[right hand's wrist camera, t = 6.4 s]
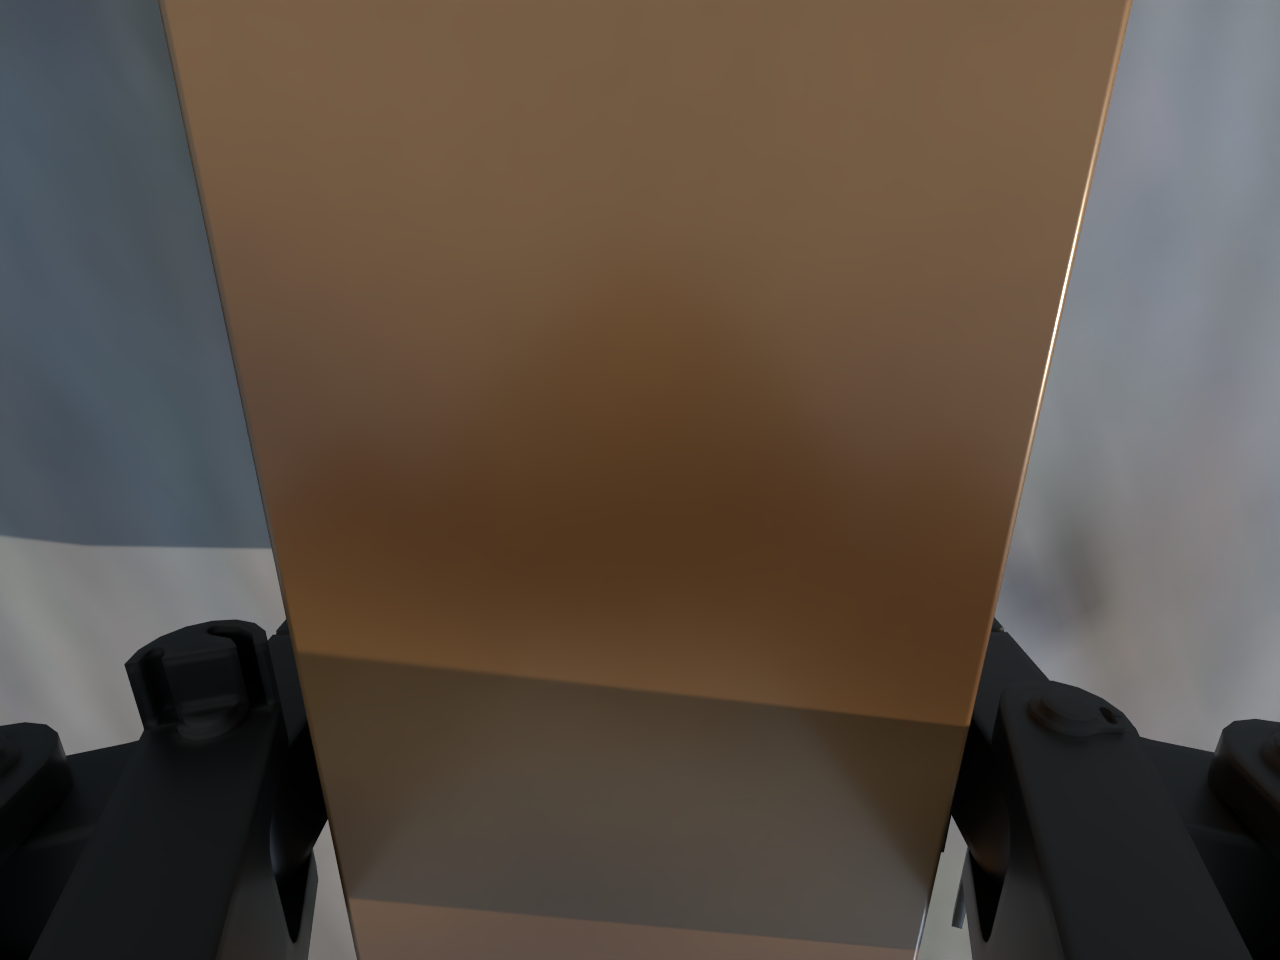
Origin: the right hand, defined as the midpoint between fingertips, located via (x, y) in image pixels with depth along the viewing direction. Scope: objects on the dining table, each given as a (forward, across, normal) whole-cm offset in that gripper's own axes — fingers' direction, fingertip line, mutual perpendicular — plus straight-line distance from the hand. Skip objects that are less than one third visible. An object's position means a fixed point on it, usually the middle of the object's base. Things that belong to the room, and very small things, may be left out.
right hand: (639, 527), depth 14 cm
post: (0, 0, -34) cm, 34 cm away
